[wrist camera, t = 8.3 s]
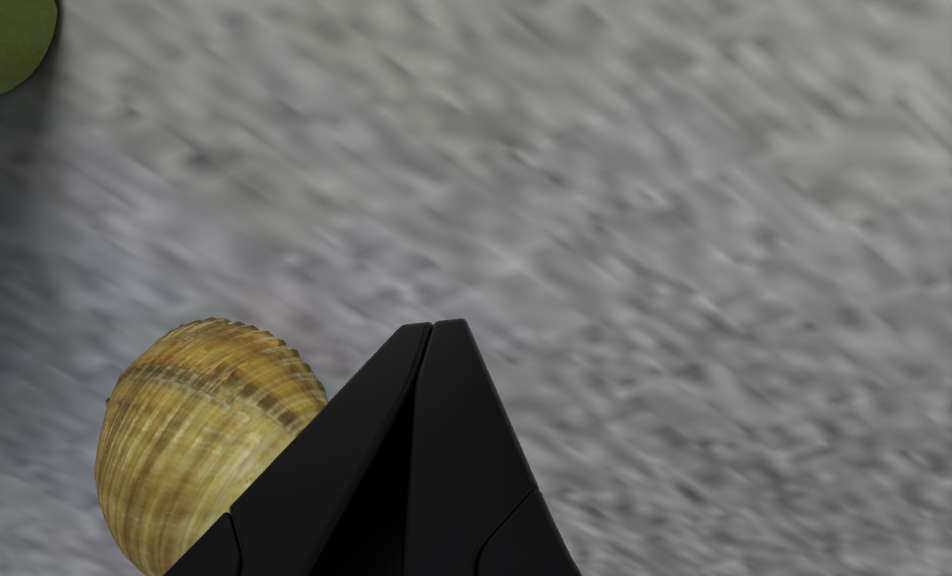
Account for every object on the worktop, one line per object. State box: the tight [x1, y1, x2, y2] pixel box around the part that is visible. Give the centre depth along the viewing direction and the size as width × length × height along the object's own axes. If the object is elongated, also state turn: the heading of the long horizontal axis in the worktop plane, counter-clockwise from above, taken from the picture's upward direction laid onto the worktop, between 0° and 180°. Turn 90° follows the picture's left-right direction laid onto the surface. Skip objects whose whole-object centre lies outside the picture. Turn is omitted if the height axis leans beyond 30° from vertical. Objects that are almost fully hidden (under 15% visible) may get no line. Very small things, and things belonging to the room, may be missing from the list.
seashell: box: [95, 318, 328, 576], centre depth 23 cm, size 10×7×8 cm
